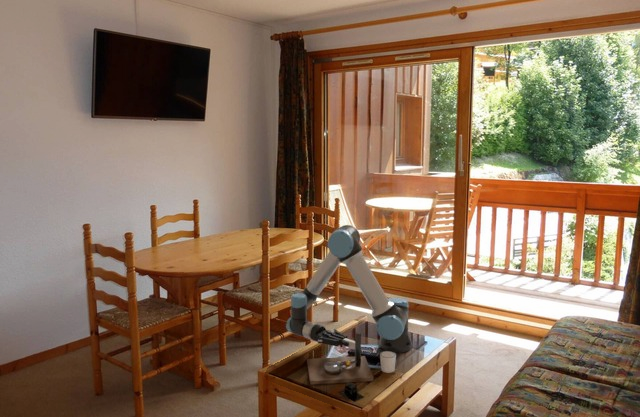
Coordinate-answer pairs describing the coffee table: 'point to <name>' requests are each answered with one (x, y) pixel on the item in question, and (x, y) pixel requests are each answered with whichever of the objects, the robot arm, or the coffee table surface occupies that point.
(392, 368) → the shot glass
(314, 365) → the crank stand
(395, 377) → the coffee table surface
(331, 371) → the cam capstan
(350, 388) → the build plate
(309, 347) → the coffee table surface
